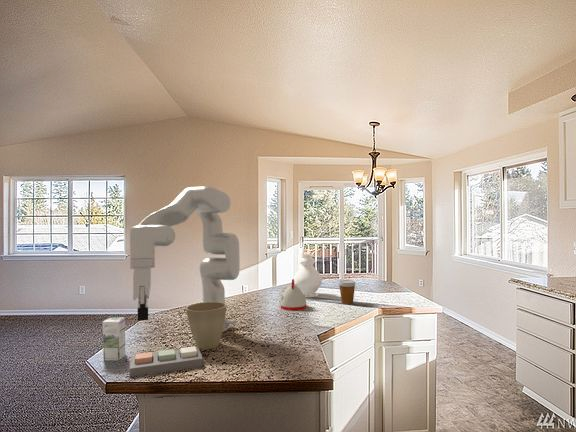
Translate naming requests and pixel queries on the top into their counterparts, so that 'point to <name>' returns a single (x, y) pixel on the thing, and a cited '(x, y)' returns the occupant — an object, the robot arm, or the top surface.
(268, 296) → the top surface
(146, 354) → the terracotta button
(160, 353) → the sage button
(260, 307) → the top surface
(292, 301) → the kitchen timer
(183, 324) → the top surface
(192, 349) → the cream button
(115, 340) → the syrup box
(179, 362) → the button panel
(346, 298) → the disposable coffee cup
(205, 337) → the plant pot
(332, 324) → the top surface
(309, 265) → the decorative vase
